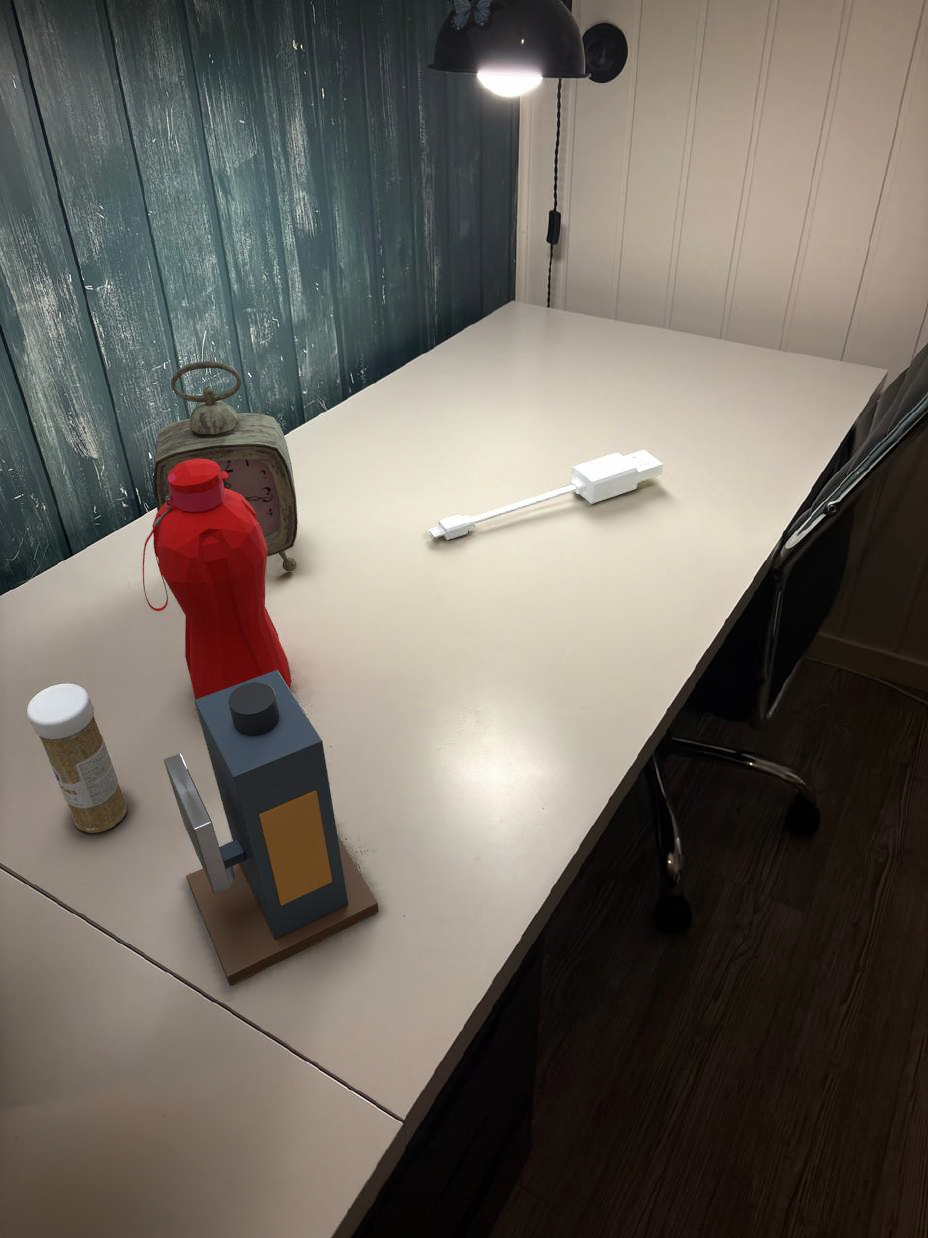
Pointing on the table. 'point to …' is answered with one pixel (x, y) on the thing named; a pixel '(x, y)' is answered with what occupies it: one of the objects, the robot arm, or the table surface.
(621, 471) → the charging cable
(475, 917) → the table surface
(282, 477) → the tabletop clock
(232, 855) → the dispenser
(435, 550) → the table surface
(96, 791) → the sprinkles bottle
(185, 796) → the brushed metal plate
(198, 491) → the water bottle
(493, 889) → the table surface
